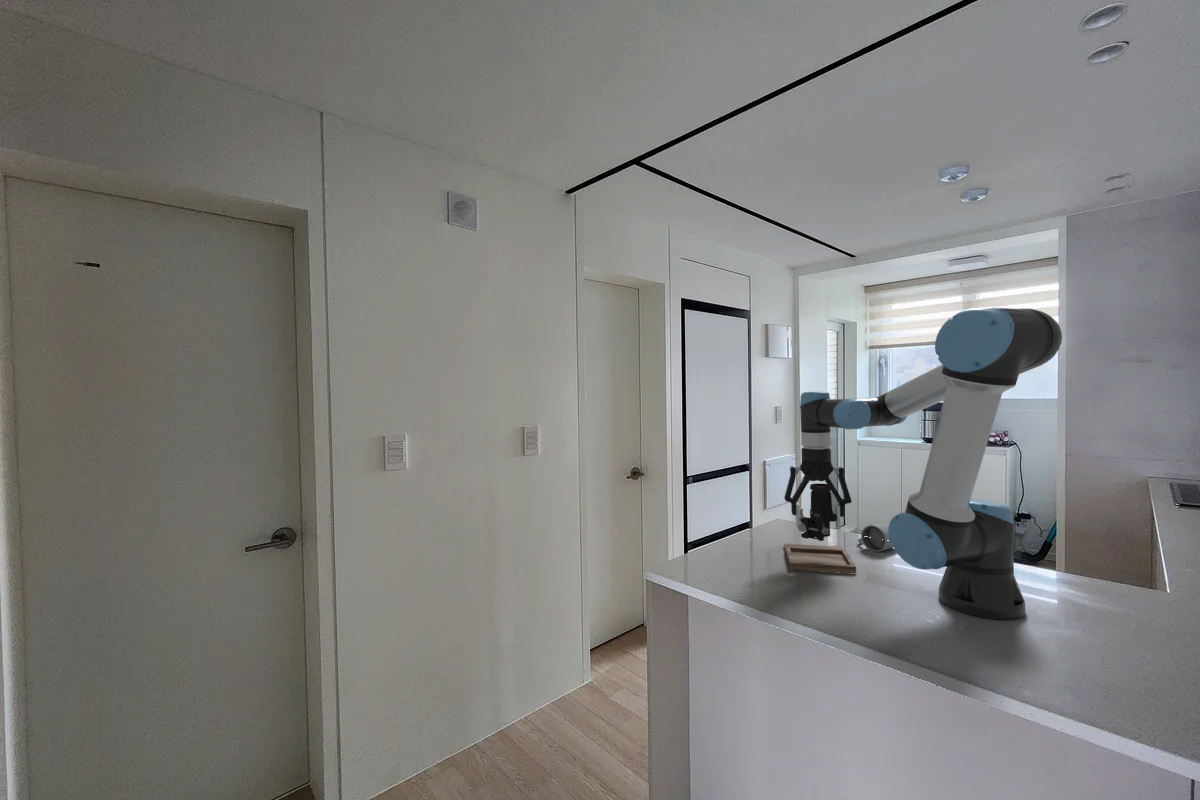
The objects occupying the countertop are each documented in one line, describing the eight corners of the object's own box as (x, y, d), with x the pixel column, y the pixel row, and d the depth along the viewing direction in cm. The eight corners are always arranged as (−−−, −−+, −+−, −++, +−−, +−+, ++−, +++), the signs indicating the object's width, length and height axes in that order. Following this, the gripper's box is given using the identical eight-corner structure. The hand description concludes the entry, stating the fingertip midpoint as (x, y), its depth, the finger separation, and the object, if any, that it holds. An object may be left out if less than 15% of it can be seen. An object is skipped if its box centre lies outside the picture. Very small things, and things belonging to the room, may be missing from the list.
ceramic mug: (902, 549, 146) (901, 523, 146) (886, 555, 142) (884, 528, 142) (867, 541, 155) (866, 517, 155) (851, 546, 151) (850, 521, 151)
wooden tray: (856, 574, 129) (856, 566, 129) (790, 570, 133) (790, 562, 133) (841, 549, 148) (841, 543, 148) (784, 546, 152) (784, 540, 152)
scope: (796, 487, 136) (811, 481, 143) (798, 537, 137) (812, 528, 144) (826, 490, 131) (840, 484, 138) (828, 542, 131) (842, 533, 138)
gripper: (857, 445, 137) (858, 525, 138) (772, 445, 144) (774, 522, 144) (863, 449, 130) (865, 533, 131) (774, 448, 136) (776, 529, 137)
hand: (817, 527), depth 137 cm, fingers closed on scope, 10 cm apart
